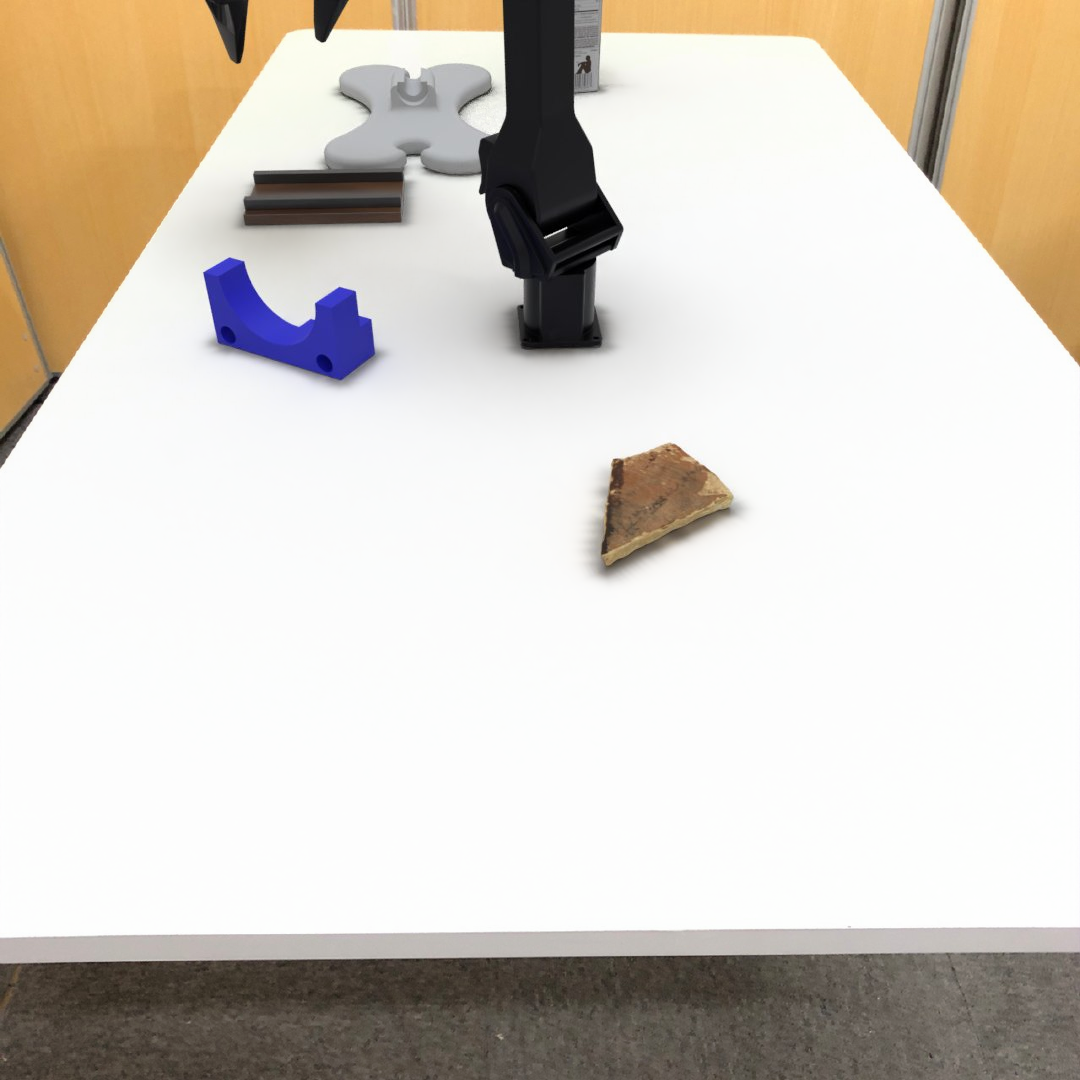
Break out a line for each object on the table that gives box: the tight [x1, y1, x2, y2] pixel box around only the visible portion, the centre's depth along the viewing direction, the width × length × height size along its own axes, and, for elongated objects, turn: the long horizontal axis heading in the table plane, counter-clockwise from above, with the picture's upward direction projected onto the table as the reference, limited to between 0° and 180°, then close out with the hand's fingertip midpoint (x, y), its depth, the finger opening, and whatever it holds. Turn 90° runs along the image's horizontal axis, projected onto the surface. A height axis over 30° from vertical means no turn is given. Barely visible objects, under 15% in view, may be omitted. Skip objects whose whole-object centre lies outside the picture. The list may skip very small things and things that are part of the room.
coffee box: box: [574, 0, 604, 94], centre depth 131 cm, size 9×6×16 cm
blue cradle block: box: [202, 256, 376, 381], centre depth 82 cm, size 12×4×6 cm, turn 62°
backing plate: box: [242, 167, 406, 226], centre depth 105 cm, size 10×15×2 cm, turn 94°
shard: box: [599, 442, 735, 566], centre depth 68 cm, size 11×8×2 cm
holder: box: [323, 62, 492, 175], centre depth 123 cm, size 19×34×5 cm, turn 5°
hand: (279, 50), depth 94 cm, fingers open, 9 cm apart
